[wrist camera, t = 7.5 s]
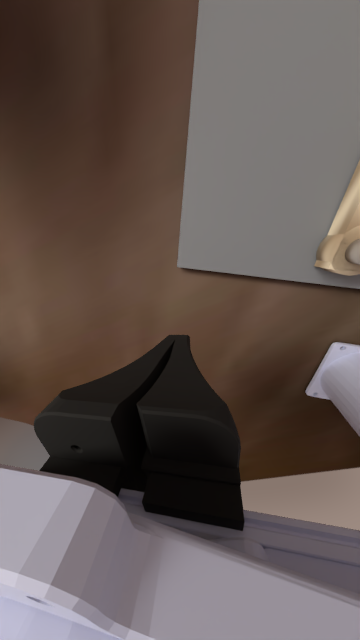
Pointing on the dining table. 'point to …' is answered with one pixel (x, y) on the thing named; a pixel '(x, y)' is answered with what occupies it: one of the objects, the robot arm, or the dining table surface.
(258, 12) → the base plate
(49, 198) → the dining table surface
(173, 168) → the dining table surface
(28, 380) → the dining table surface
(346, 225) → the link
